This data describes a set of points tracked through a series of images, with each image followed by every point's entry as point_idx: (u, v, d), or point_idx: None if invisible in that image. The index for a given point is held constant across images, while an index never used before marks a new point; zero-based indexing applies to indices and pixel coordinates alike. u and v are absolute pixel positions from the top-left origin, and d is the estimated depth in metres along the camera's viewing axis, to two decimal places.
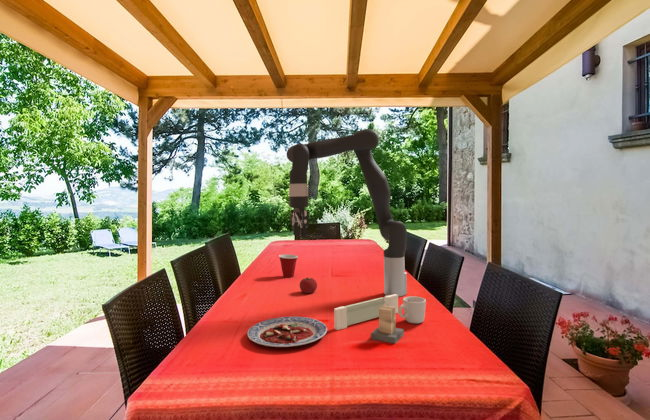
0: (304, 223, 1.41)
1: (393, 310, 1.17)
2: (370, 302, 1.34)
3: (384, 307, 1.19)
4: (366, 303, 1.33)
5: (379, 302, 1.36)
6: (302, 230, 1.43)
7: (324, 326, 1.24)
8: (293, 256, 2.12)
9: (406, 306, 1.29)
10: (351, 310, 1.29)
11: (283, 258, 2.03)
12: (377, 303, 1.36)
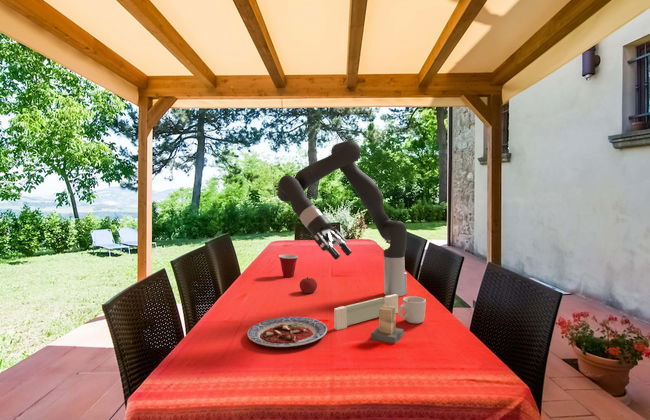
0: (322, 247, 1.22)
1: (393, 310, 1.17)
2: (370, 302, 1.34)
3: (384, 307, 1.19)
4: (366, 303, 1.33)
5: (379, 302, 1.36)
6: None
7: (324, 326, 1.24)
8: (293, 256, 2.12)
9: (406, 306, 1.29)
10: (351, 310, 1.29)
11: (283, 258, 2.03)
12: (377, 303, 1.36)
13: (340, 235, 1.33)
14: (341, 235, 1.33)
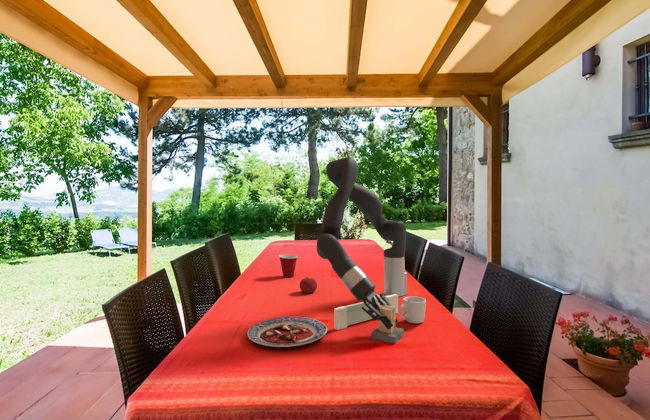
0: (374, 316, 1.15)
1: (393, 310, 1.17)
2: None
3: (384, 307, 1.19)
4: None
5: None
6: None
7: (324, 326, 1.24)
8: (293, 256, 2.12)
9: (406, 306, 1.29)
10: (351, 310, 1.29)
11: (283, 258, 2.03)
12: None
13: (385, 300, 1.24)
14: (386, 300, 1.24)
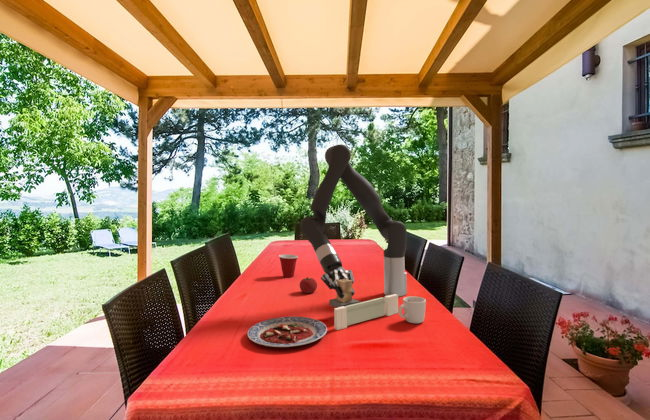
0: (330, 286, 1.36)
1: (348, 283, 1.36)
2: (370, 302, 1.34)
3: (342, 279, 1.38)
4: (366, 303, 1.33)
5: (379, 302, 1.36)
6: None
7: (324, 326, 1.24)
8: (293, 256, 2.12)
9: (406, 306, 1.29)
10: (351, 310, 1.29)
11: (283, 258, 2.03)
12: (377, 303, 1.36)
13: (350, 275, 1.42)
14: (352, 275, 1.42)
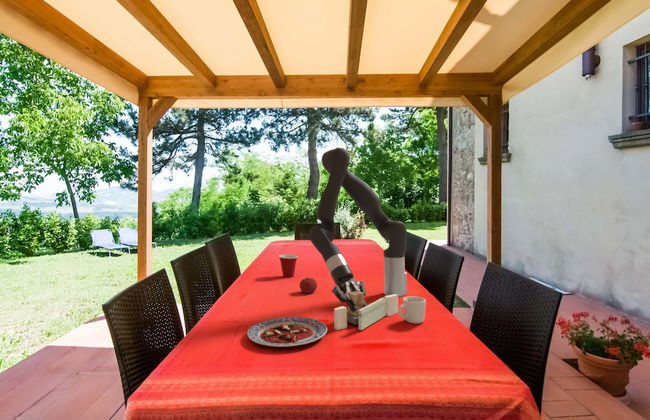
0: (341, 299, 1.31)
1: (360, 295, 1.31)
2: (376, 303, 1.32)
3: (354, 292, 1.33)
4: (374, 305, 1.30)
5: (382, 303, 1.35)
6: None
7: (324, 326, 1.24)
8: (293, 256, 2.12)
9: (406, 306, 1.29)
10: (364, 313, 1.25)
11: (283, 258, 2.03)
12: (381, 304, 1.35)
13: (362, 287, 1.37)
14: (364, 287, 1.37)
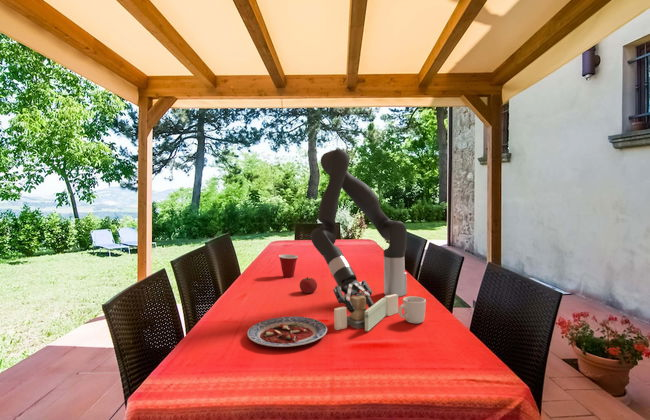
0: (339, 300, 1.29)
1: (362, 299, 1.30)
2: (379, 304, 1.32)
3: (356, 296, 1.32)
4: (377, 305, 1.30)
5: (383, 303, 1.35)
6: None
7: (324, 326, 1.24)
8: (293, 256, 2.12)
9: (406, 306, 1.29)
10: (370, 314, 1.24)
11: (283, 258, 2.03)
12: (382, 304, 1.34)
13: (366, 286, 1.36)
14: (368, 286, 1.37)
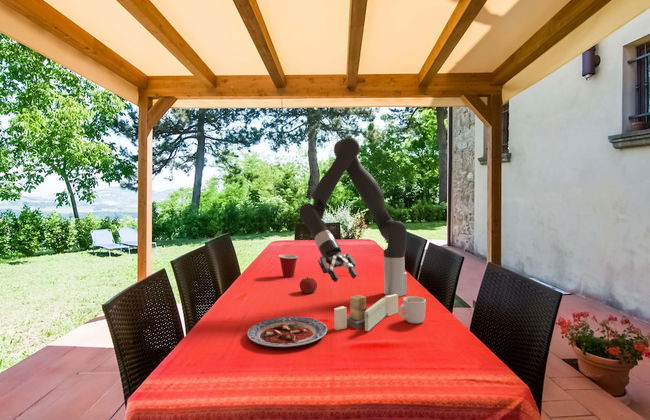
0: (323, 270, 1.36)
1: (362, 299, 1.30)
2: (379, 304, 1.32)
3: (356, 296, 1.32)
4: (377, 305, 1.30)
5: (383, 303, 1.35)
6: None
7: (324, 326, 1.23)
8: (293, 256, 2.12)
9: (406, 306, 1.29)
10: (370, 314, 1.24)
11: (283, 258, 2.03)
12: (382, 304, 1.34)
13: (350, 258, 1.43)
14: (352, 258, 1.44)
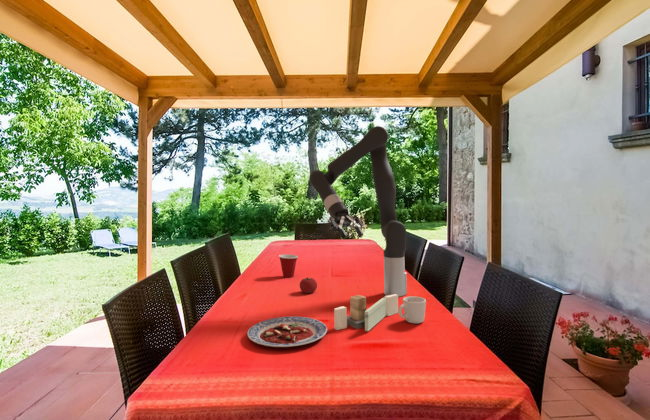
0: (333, 228, 1.47)
1: (362, 299, 1.30)
2: (379, 304, 1.32)
3: (356, 296, 1.32)
4: (377, 305, 1.30)
5: (383, 303, 1.35)
6: None
7: (324, 326, 1.23)
8: (293, 256, 2.12)
9: (406, 306, 1.29)
10: (370, 314, 1.24)
11: (283, 258, 2.03)
12: (382, 304, 1.34)
13: (357, 220, 1.54)
14: (358, 220, 1.54)
